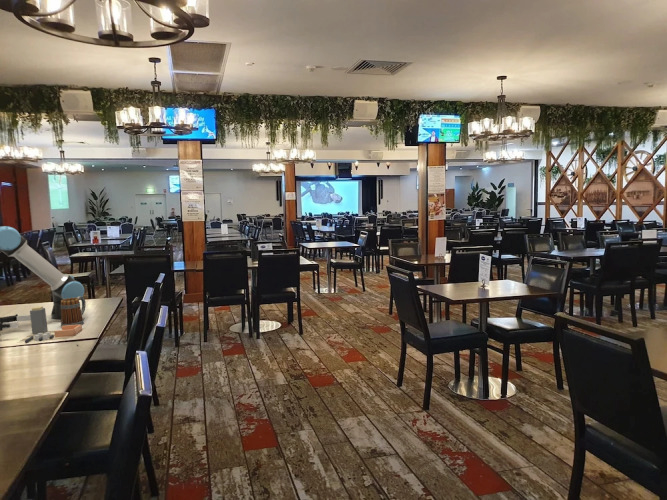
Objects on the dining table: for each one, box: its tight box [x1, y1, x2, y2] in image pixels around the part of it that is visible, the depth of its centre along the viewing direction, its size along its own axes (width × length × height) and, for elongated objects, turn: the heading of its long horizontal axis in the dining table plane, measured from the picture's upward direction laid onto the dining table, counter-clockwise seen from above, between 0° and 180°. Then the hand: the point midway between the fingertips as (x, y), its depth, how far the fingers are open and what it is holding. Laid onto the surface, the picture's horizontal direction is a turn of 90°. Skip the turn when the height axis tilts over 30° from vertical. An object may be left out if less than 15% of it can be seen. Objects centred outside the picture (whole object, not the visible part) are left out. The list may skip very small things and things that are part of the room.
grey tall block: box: [29, 306, 49, 335], centre depth 241 cm, size 5×5×13 cm
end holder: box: [54, 324, 83, 337], centre depth 239 cm, size 10×9×3 cm
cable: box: [24, 335, 54, 344], centre depth 230 cm, size 7×11×1 cm
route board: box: [17, 327, 85, 343], centre depth 238 cm, size 18×24×1 cm
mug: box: [60, 296, 87, 328], centre depth 257 cm, size 16×11×15 cm
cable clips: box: [34, 332, 51, 342], centre depth 231 cm, size 4×6×2 cm
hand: (24, 321), depth 240 cm, fingers open, 13 cm apart
